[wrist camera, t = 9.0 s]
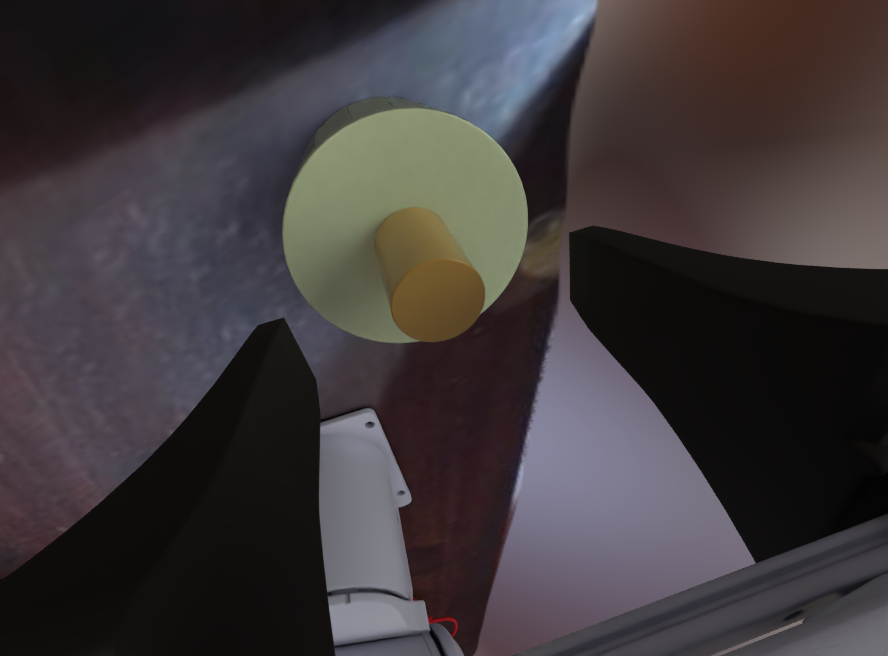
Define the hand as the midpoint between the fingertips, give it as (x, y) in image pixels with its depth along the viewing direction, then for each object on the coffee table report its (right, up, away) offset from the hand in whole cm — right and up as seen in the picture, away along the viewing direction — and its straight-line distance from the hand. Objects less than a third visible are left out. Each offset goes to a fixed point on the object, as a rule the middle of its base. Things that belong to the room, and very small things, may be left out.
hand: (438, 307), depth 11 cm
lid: (-1, +2, +3) cm, 4 cm away
